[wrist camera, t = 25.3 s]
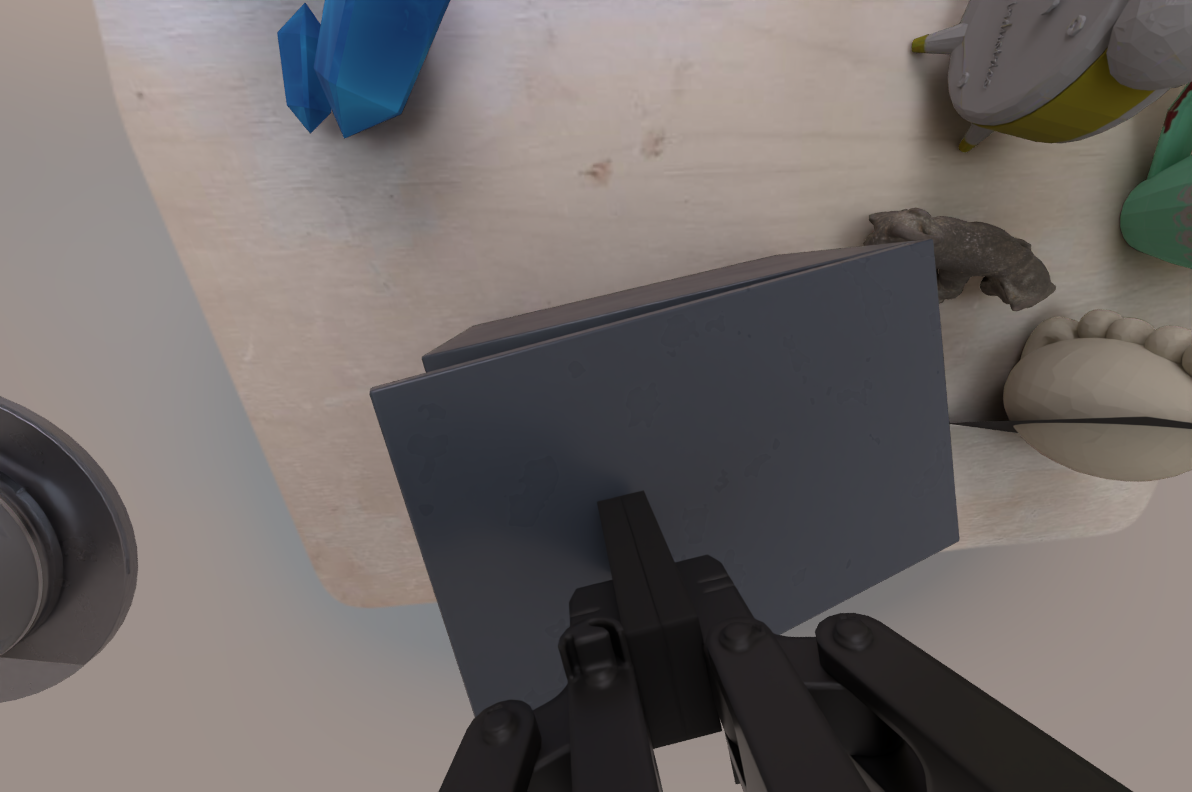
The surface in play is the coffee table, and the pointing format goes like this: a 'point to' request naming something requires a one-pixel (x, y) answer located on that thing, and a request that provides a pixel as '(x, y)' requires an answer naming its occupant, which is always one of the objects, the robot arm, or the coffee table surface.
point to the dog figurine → (969, 255)
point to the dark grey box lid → (683, 457)
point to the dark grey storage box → (626, 305)
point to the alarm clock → (1061, 64)
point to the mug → (1165, 192)
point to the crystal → (356, 59)
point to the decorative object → (1104, 396)
